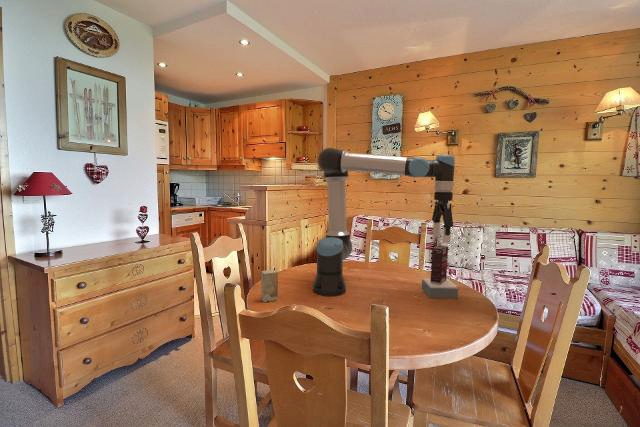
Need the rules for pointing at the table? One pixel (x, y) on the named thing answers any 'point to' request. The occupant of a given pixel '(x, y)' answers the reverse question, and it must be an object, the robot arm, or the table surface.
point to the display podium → (439, 289)
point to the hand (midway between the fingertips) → (440, 239)
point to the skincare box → (269, 285)
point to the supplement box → (439, 264)
